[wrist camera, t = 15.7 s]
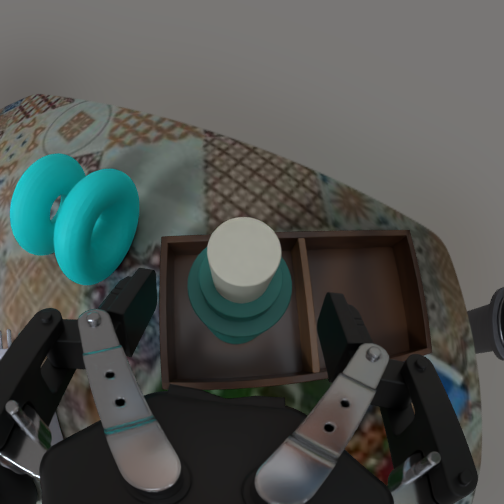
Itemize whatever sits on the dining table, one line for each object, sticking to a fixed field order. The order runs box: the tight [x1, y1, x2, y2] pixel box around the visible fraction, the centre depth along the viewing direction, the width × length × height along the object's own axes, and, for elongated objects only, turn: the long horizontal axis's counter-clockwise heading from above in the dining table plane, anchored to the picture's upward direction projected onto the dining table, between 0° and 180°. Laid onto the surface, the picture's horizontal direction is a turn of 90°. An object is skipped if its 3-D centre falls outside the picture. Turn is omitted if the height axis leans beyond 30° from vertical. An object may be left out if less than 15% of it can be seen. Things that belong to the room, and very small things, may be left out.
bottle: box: [187, 217, 292, 344], centre depth 16 cm, size 5×5×16 cm
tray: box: [159, 230, 432, 390], centre depth 23 cm, size 23×12×4 cm, turn 94°
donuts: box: [10, 154, 139, 285], centre depth 21 cm, size 10×10×10 cm
